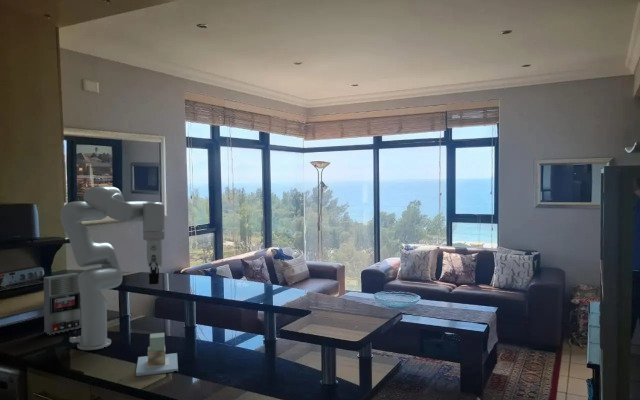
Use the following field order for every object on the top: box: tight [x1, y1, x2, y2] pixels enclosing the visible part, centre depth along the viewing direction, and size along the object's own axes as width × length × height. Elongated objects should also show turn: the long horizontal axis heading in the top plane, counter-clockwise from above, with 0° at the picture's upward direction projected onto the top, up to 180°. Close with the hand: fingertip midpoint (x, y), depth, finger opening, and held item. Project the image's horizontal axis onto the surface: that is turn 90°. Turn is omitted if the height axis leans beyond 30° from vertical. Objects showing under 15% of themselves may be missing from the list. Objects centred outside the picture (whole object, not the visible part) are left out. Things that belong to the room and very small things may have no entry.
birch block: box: [147, 346, 166, 366], centre depth 175 cm, size 6×6×5 cm
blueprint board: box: [135, 352, 179, 377], centre depth 175 cm, size 14×16×1 cm
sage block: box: [149, 332, 166, 352], centre depth 175 cm, size 5×5×5 cm
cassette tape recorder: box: [43, 272, 81, 336], centre depth 214 cm, size 14×6×25 cm, turn 141°
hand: (154, 281), depth 177 cm, fingers open, 9 cm apart
